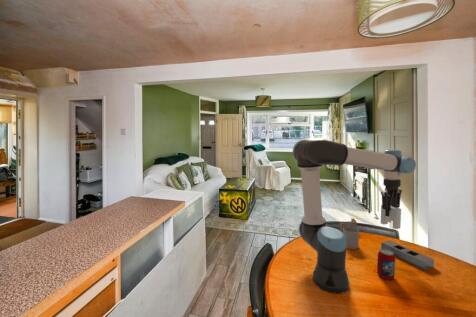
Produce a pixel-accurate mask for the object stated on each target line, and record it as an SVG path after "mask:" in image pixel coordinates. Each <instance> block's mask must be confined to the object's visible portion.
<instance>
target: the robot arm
mask: <svg viewBox="0 0 476 317" xmlns="http://www.w3.org/2000/svg"><path fill="white" fill-rule="evenodd" d="M292 156H293V158H294V159H295V160H296V164H297V168H298V169H299V170H300V174H301V187H302V188H301V189H302V203H303V213H304V214H303V216H302V217H301V221H300V224H298V233H299V236H300V237H301V238H302V240H303V241H304V242H305V243H306V244H308V245H309V246H310V247H311V248H312V249H313V250H314V251H315V252H316V254H317V255H316V256H317V258H316V265H315V267H314V270H313V272H312V281H313V283H314V285H315V286H317V287H318V288H319V289H321V290H322V291H325V292H328V293H331V294H343V293H347V291H349V289H350V278H349V277H348V273H347V269H346V261H347V260H346V259H347V247H346V246H347V244H346V237H345V235H344V234H343V233H342V232H341V231H340V230H339V228H338V229H337V228H333V227H332V226H327V221H326V220H327V219H326V218H325V217H324V216H323V208H322V207H323V206H322V192H321V191H322V190H321V178H320V177H321V176H320V169H321V168H322V167H323V166H324V165H325V166H343V165H348V166H355V167H360V168H366V169H368V170H382V171H383V183H382V184H383V186H384V187H385V188H384V191H380V193H381V194H380V195H381V205H382V209H385V221H386V222H388V224H389V223H390V224H391V223H392V222H393V217H392V216H391V210H390V209H391V206H392V207H396V208H400V205H401V198H402V197H401V195H402V192H403V191H402V189H399V188H400V187H401V185H402V184H401V183H402V180H401V178H402V174H411V173H413V172H414V171H415V170H416V166H417V161H416V160H415V158H414V157H410V156H403V153H402V150H400V149H385V150H384V152H379V151H378V152H377V151H373V150H366V149H360V148H355V147H350V146H348V145H346V144H345V143H339V142H336V141H331V140H328V139H324V138H308V137H307V138H302V139H299V140H298V141H297V142H296V143H294V146H293V147H292Z"/></svg>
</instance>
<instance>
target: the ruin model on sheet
mask: <svg viewBox="0 0 476 317" xmlns="http://www.w3.org/2000/svg"><path fill="white" fill-rule="evenodd" d="M338 224H339V225H338V230H340V231H341V232H342V233H343V228H344V227H354V228H356V229H358V228H357V227H358V226H357V225H358V223H357V220H356V219H355V218H350V221H342V222H338Z"/></svg>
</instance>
